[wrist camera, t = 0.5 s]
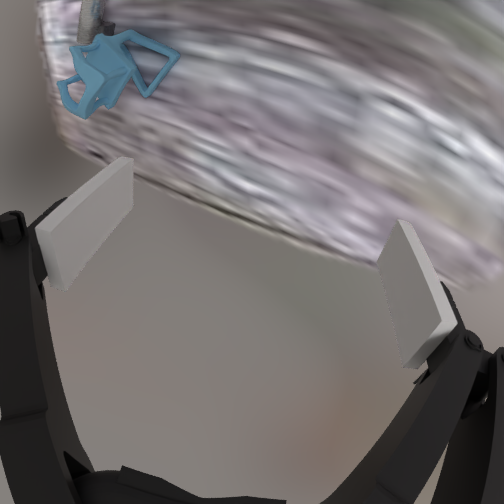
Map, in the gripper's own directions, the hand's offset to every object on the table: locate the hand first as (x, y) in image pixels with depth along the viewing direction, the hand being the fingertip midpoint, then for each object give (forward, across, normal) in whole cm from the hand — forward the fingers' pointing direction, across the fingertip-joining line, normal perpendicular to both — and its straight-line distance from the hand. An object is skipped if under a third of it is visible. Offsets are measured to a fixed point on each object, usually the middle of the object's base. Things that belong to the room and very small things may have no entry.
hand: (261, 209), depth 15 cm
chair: (+24, -18, +5) cm, 30 cm away
